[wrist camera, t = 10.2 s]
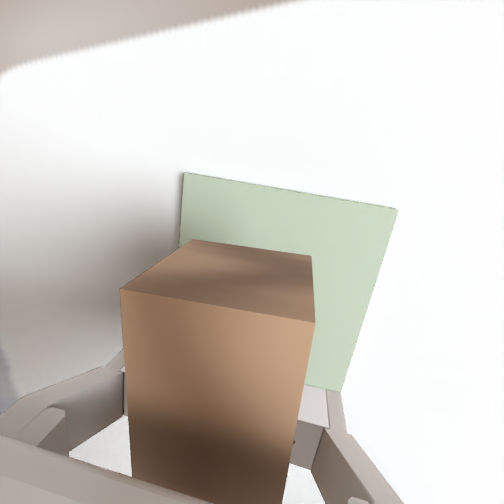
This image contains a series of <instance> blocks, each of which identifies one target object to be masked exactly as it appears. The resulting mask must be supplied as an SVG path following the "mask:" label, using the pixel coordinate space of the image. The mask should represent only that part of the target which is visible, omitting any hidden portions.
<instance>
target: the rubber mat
mask: <svg viewBox="0 0 504 504" xmlns="http://www.w3.org/2000/svg"><path fill="white" fill-rule="evenodd" d="M397 213H398V210H397V209H395V208H390V207H384V206H378V205H372V204H366V203H361V202H355V201H349V200H343V199H337V198H332V197H326V196H320V195H314V194H308V193H303V192H297V191H291V190H285V189H279V188H273V187H268V186H262V185H256V184H250V183H244V182H239V181H233V180H227V179H221V178H215V177H210V176H204V175H198V174H192V173H184V182H183V196H182V210H181V224H180V238H179V248H180V247H181V246H183V245H184V244H186V243H187V242H189V241H190V240H192V239H197V240H204V241H211V242H218V243H225V244H232V245H239V246H246V247H253V248H260V249H267V250H274V251H281V252H288V253H295V254H303V255H310V256H312V272H313V289H314V305H315V321H316V324H315V329H314V334H313V340H312V345H311V350H310V356H309V361H308V366H307V372H306V377H305V382H304V384H308V385H312V386H316V387H320V388H324V389H330V390H334V391H338V392H341V389H342V386H343V383H344V380H345V377H346V374H347V370H348V367H349V364H350V361H351V358H352V355H353V352H354V348H355V345H356V342H357V339H358V336H359V333H360V330H361V326H362V323H363V320H364V317H365V314H366V311H367V308H368V304H369V301H370V298H371V295H372V292H373V289H374V286H375V283H376V279H377V276H378V273H379V270H380V267H381V264H382V261H383V257H384V254H385V251H386V248H387V245H388V242H389V239H390V235H391V232H392V229H393V226H394V223H395V220H396V217H397Z"/></svg>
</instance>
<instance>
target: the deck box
mask: <svg viewBox="0 0 504 504" xmlns="http://www.w3.org/2000/svg"><path fill="white" fill-rule="evenodd" d="M120 302H121V317H122V332H123V347H124V362H125V376H126V391H127V406H128V421H129V436H130V451H131V466H132V477H133V478H136V479H139V480H142V481H145V482H148V483H151V484H155V485H158V486H161V487H164V488H167V489H170V490H173V491H176V492H179V493H182V494H185V495H189V496H192V497H195V498H198V499H201V500H204V501H207V502H210V503H213V504H282V500H283V494H284V489H285V484H286V478H287V473H288V468H289V462H290V457H291V452H292V446H293V441H294V436H295V430H296V425H297V420H298V414H299V409H300V404H301V398H302V393H303V388H304V382H305V377H306V372H307V366H308V361H309V356H310V350H311V345H312V340H313V334H314V329H315V324H316V321H315V305H314V289H313V272H312V256H310V255H303V254H295V253H288V252H281V251H274V250H267V249H260V248H253V247H246V246H239V245H232V244H225V243H218V242H211V241H204V240H197V239H192V240H190V241H189V242H187V243H186V244H184V245H183V246H181V247H180V248H178V249H177V250H176V251H174V252H173V253H171V254H170V255H168V256H167V257H165V258H164V259H162V260H161V261H159V262H158V263H157V264H155V265H154V266H152V267H151V268H149V269H148V270H146V271H145V272H143V273H142V274H140V275H139V276H138V277H136V278H135V279H133V280H132V281H130V282H129V283H127V284H126V285H124V286H123V287H121V288H120Z"/></svg>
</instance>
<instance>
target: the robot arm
mask: <svg viewBox="0 0 504 504" xmlns="http://www.w3.org/2000/svg"><path fill="white" fill-rule="evenodd" d="M123 415H125V416H128V406H127V391H126V376H125V362H124V348H123V349H122V350H121V351H120V352H119V353H118V354H117V355H116V356H115V357H114V358H113V359H112V360H111V361H110V362H109V363H108V364H107V365H106V367H105V368H104V367H98V368H96V369H93V370H91V371H88V372H85V373H83V374H80V375H78V376H75V377H72V378H70V379H67V380H65V381H62V382H59V383H57V384H54V385H52V386H49V387H46V388H44V389H41V390H39V391H36V392H33V393H31V394H28V395H26V396H23V397H22V398H20V399H19V400H18V401H17V402H16V403H14V404H13V405H12V406H11V407H10V408H8V409H7V410H6V411H5V412H3V413H2V414H1V415H0V504H213V503H210V502H207V501H204V500H201V499H198V498H195V497H192V496H189V495H185V494H182V493H179V492H176V491H173V490H170V489H167V488H164V487H161V486H158V485H155V484H151V483H148V482H145V481H142V480H139V479H136V478H133V477H130V476H127V475H124V474H120V473H117V472H114V471H111V470H108V469H105V468H102V467H99V466H96V465H92V464H89V463H86V462H83V461H80V460H77V459H74V458H71V457H69V451H71V450H72V449H74V448H75V447H77V446H78V445H80V444H81V443H83V442H84V441H86V440H87V439H89V438H90V437H92V436H94V435H95V434H97V433H98V432H100V431H101V430H103V429H104V428H106V427H107V426H109V425H110V424H112V423H113V422H115V421H116V420H118V419H119V418H121V417H122V416H123ZM289 463H291V464H294V465H297V466H300V467H303V468H306V469H310V470H311V473H312V475H313V477H314V479H315V482H316V484H317V486H318V488H319V490H320V493H321V495H322V497H323V499H324V501H325V504H404V503H403V502H402V501H401V499H400V498H399V497H398V495H397V494H396V493H395V491H394V490H393V489H392V487H391V486H390V485H389V484H388V482H387V481H386V480H385V478H384V477H383V476H382V474H381V473H380V472H379V470H378V469H377V468H376V466H375V465H374V464H373V462H372V461H371V460H370V458H369V457H368V456H367V454H366V453H365V452H364V450H363V449H362V448H361V447H360V445H359V444H358V443H357V441H356V440H355V439H354V437H353V436H352V435H350V434H347V429H346V422H345V416H344V410H343V403H342V397H341V393H340V392H338V391H334V390H330V389H324V388H320V387H316V386H312V385H308V384H304V388H303V393H302V398H301V404H300V409H299V414H298V420H297V425H296V430H295V436H294V441H293V446H292V452H291V457H290V462H289Z"/></svg>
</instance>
